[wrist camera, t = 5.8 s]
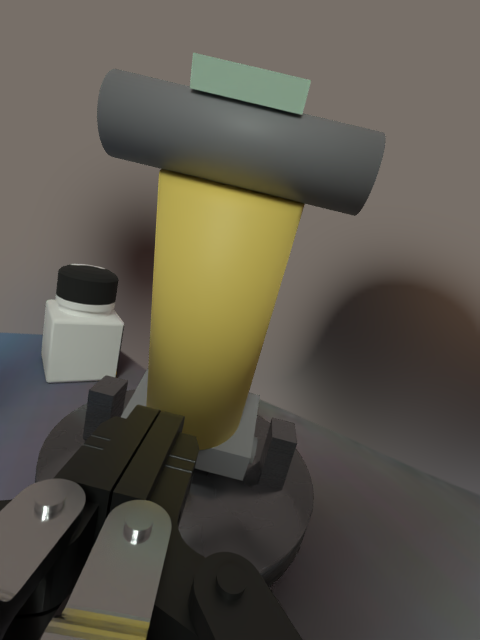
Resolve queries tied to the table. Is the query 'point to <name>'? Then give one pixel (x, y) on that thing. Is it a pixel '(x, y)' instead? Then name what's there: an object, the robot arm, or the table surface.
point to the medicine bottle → (82, 326)
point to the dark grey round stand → (215, 486)
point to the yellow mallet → (226, 228)
